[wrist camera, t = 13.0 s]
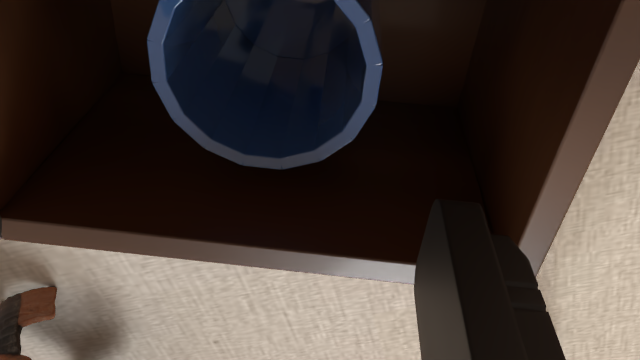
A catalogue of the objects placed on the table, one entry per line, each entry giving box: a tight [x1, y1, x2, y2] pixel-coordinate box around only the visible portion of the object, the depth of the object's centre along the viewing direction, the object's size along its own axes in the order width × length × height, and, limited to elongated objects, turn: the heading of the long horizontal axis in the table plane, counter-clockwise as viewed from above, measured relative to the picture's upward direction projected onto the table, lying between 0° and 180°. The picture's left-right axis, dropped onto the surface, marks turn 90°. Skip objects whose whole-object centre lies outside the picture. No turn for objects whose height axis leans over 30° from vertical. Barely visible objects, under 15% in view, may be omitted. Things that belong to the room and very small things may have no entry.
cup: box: [147, 0, 383, 170], centre depth 17 cm, size 6×6×8 cm
